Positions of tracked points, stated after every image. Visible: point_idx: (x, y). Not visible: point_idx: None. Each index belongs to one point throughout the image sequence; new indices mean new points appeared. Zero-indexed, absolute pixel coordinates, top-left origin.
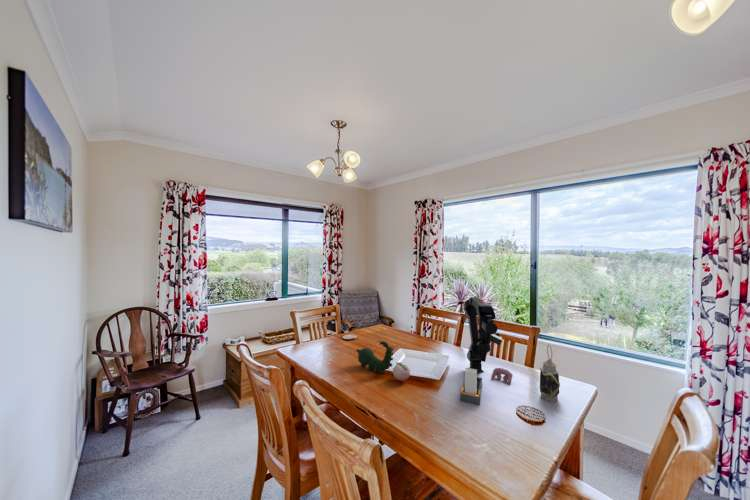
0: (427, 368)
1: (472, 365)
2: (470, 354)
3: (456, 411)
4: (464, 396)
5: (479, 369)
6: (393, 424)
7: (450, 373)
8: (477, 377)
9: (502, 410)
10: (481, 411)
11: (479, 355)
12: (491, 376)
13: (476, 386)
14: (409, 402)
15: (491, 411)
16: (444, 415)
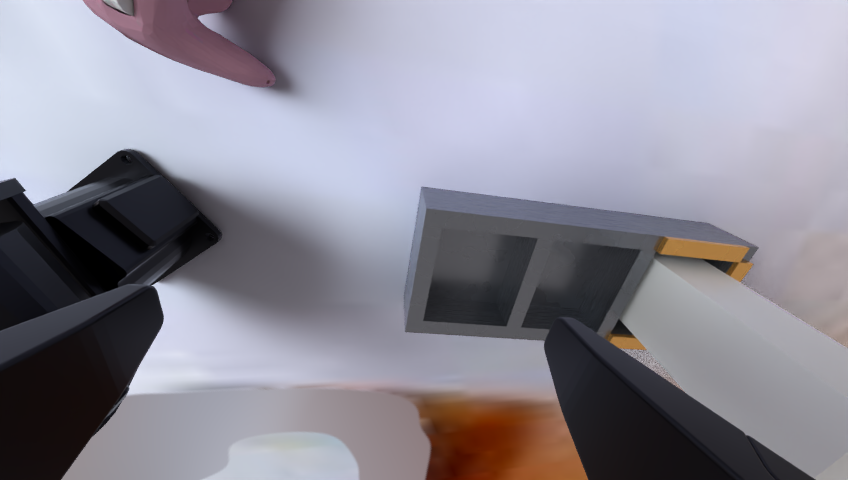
0: (297, 464)
1: (154, 278)
2: (107, 416)
3: None
4: None
5: (166, 204)
6: None
7: (309, 372)
8: (426, 246)
9: (801, 79)
10: (771, 219)
11: (38, 313)
12: (258, 86)
13: (740, 297)
14: None
15: (789, 161)
16: None
